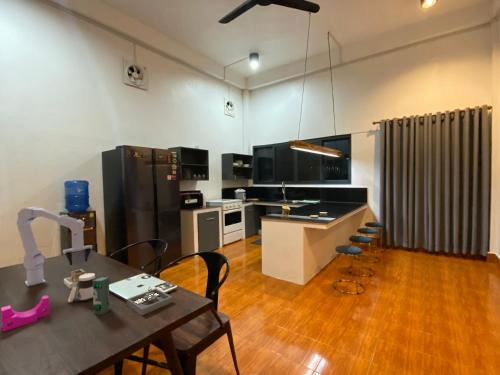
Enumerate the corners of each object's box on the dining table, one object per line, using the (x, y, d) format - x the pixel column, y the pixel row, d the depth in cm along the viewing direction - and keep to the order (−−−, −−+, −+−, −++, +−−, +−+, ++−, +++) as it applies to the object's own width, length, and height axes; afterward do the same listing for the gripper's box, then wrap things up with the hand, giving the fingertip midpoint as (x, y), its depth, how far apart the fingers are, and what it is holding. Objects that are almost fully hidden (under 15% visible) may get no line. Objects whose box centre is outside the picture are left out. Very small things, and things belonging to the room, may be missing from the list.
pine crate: (71, 281, 146) (71, 271, 146) (81, 279, 150) (81, 269, 149) (75, 284, 141) (74, 274, 141) (85, 282, 145) (85, 271, 145)
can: (93, 310, 115) (92, 277, 114) (108, 306, 118) (107, 274, 118) (94, 316, 110) (93, 282, 109) (110, 311, 113) (109, 278, 113)
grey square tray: (126, 305, 119) (126, 299, 119) (156, 294, 130) (156, 288, 130) (142, 316, 109) (141, 309, 109) (172, 303, 121) (172, 296, 120)
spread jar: (101, 297, 127) (100, 274, 127) (77, 307, 117) (76, 283, 117) (87, 292, 133) (87, 270, 133) (63, 301, 123) (62, 278, 123)
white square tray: (64, 283, 145) (63, 278, 145) (86, 277, 153) (86, 273, 153) (69, 289, 137) (69, 284, 137) (93, 282, 146) (93, 277, 146)
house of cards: (138, 311, 114) (138, 294, 113) (137, 303, 121) (137, 287, 121) (159, 306, 118) (159, 290, 117) (157, 298, 125) (157, 283, 125)
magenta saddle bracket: (3, 331, 100) (2, 313, 99) (1, 325, 104) (1, 307, 104) (50, 316, 111) (50, 299, 110) (47, 311, 115) (47, 295, 115)
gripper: (64, 243, 142) (65, 267, 143) (93, 239, 153) (94, 261, 154) (61, 242, 147) (62, 265, 147) (89, 237, 158) (90, 258, 158)
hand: (78, 262), depth 151 cm, fingers open, 7 cm apart
